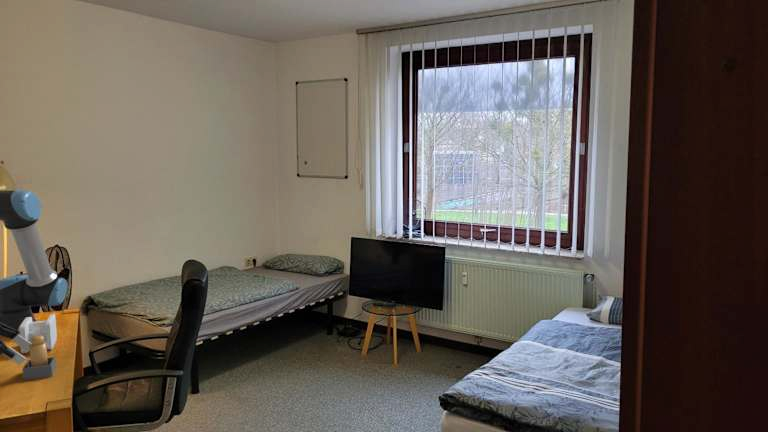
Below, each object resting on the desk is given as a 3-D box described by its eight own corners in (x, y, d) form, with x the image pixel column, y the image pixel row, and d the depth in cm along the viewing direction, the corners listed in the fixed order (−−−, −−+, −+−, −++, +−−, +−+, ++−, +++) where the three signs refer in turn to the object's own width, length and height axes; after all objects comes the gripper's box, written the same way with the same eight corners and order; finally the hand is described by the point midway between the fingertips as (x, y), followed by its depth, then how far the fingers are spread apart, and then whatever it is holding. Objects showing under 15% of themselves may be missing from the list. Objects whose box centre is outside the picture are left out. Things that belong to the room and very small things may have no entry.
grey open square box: (28, 371, 200) (27, 360, 200) (56, 367, 203) (55, 356, 203) (23, 380, 192) (22, 368, 192) (52, 376, 195) (51, 365, 195)
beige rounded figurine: (32, 368, 199) (30, 335, 198) (49, 366, 201) (47, 334, 200) (29, 373, 194) (27, 340, 193) (46, 371, 196) (44, 338, 195)
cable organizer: (52, 352, 218) (49, 323, 217) (19, 356, 215) (17, 326, 213) (57, 340, 232) (55, 312, 231) (27, 343, 228) (25, 315, 227)
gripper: (-28, 315, 199) (26, 351, 206) (-51, 336, 176) (10, 376, 183) (-11, 298, 200) (42, 335, 208) (-31, 318, 177) (28, 358, 185)
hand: (27, 355), depth 195 cm, fingers open, 13 cm apart
